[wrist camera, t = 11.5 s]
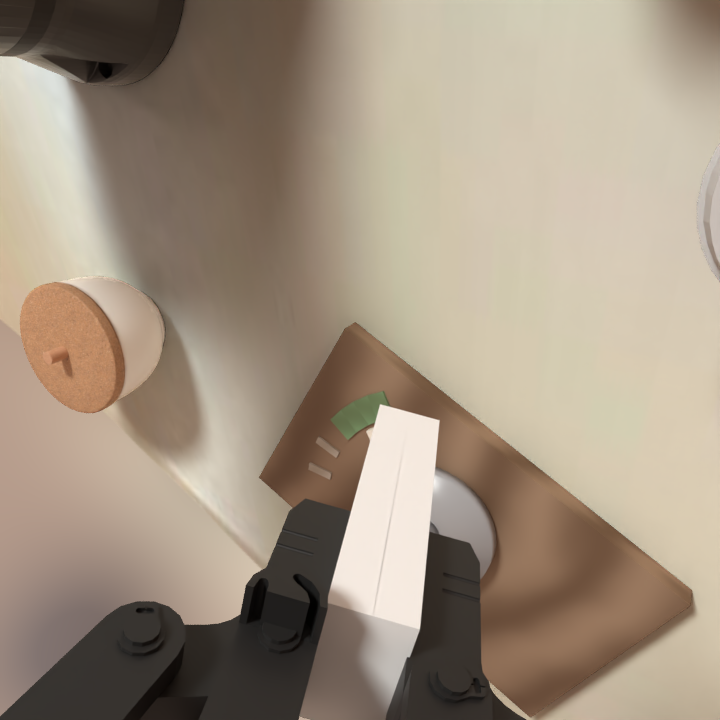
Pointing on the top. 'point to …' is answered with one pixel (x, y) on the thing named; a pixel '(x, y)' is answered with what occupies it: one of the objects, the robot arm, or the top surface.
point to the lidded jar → (91, 339)
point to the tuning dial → (461, 515)
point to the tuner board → (510, 518)
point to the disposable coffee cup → (710, 213)
